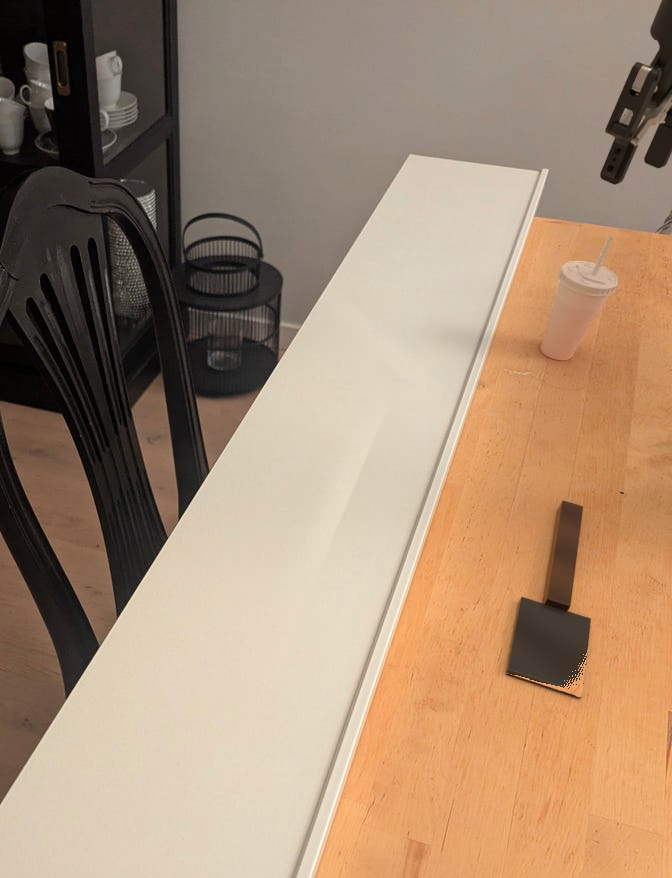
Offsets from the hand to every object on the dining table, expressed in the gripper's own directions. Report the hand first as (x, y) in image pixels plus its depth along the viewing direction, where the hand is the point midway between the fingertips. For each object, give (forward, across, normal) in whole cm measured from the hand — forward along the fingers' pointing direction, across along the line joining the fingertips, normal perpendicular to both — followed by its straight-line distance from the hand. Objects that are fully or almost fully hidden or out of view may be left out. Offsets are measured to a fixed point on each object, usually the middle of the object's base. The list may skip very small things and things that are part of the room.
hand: (632, 173), depth 93 cm
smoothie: (+21, 0, 0) cm, 21 cm away
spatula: (+20, -35, -24) cm, 47 cm away
